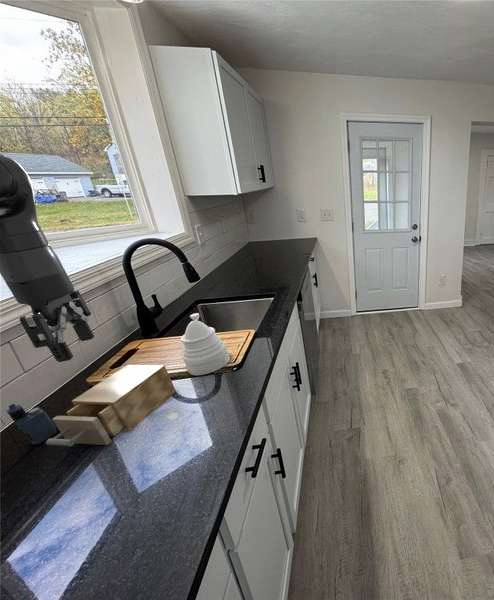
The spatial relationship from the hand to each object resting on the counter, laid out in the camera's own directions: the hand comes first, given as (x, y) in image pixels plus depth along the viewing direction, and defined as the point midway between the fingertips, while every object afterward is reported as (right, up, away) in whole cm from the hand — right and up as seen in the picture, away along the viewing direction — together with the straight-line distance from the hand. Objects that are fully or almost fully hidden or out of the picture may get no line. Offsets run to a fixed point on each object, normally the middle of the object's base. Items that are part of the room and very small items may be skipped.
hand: (77, 349), depth 63 cm
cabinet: (-10, -21, +26) cm, 35 cm away
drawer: (-11, -24, +19) cm, 32 cm away
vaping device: (-28, -26, +19) cm, 42 cm away
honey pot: (-1, -12, +45) cm, 47 cm away
